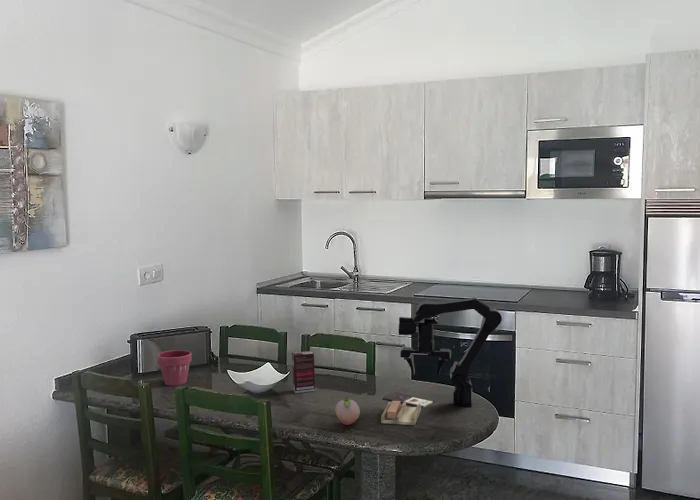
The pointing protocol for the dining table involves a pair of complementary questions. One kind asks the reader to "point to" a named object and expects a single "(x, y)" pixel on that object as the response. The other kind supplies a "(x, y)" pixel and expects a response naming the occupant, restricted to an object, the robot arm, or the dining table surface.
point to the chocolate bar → (408, 399)
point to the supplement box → (303, 371)
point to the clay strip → (394, 409)
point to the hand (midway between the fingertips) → (425, 375)
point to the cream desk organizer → (402, 415)
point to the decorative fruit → (347, 411)
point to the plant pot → (174, 366)
